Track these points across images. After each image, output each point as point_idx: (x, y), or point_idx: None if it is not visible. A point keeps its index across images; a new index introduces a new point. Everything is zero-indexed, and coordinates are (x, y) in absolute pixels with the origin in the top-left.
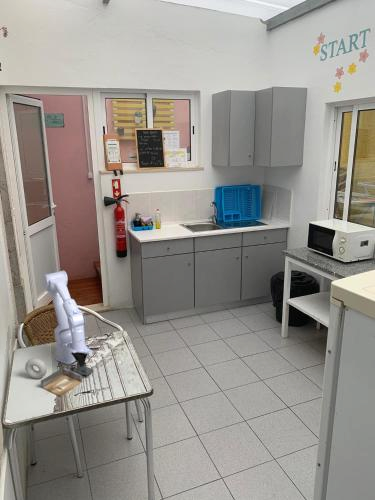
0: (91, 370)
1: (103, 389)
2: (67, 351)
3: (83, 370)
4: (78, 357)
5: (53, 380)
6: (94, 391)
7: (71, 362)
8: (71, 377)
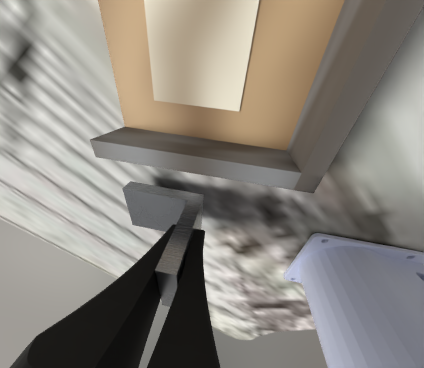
0: (132, 217)
1: (3, 128)
2: (365, 332)
3: (165, 207)
4: (91, 326)
5: (336, 27)
6: (4, 92)
7: (306, 248)
8: (204, 140)
